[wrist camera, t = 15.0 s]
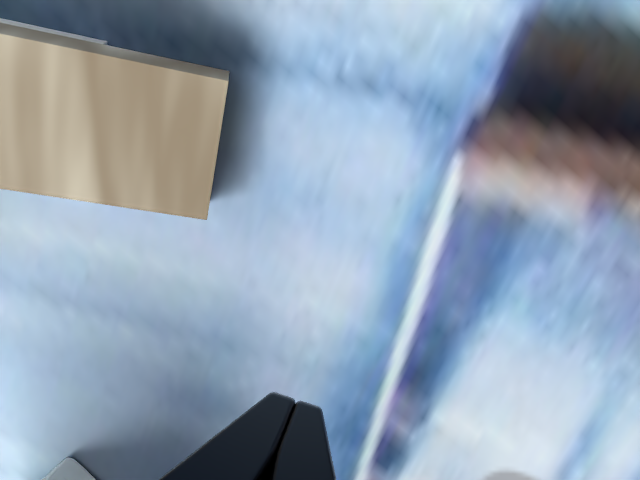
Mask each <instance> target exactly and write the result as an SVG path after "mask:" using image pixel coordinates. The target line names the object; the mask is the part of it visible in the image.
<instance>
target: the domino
mask: <svg viewBox="0 0 640 480" xmlns="http://www.w3.org/2000/svg"><path fill="white" fill-rule="evenodd" d="M228 82H229V71H227V70H222V69H217V68H212V67H208V66H203V65H198V64H194V63H189V62H184V61H179V60H175V59H170V58H165V57H161V56H156V55H151V54H146V53H142V52H137V51H132V50H128V49H123V48H118V47H113V46H109V45H104V44H99V43H95V42H90V41H85V40H80V39H76V38H71V37H66V36H62V35H57V34H52V33H47V32H43V31H38V30H33V29H28V28H24V27H19V26H14V25H10V24H5V23H0V189H7V190H13V191H20V192H26V193H33V194H39V195H46V196H53V197H59V198H66V199H72V200H79V201H86V202H92V203H99V204H105V205H112V206H119V207H125V208H132V209H138V210H145V211H152V212H158V213H165V214H171V215H178V216H184V217H191V218H198V219H204V220H207V216H208V209H209V203H210V196H211V190H212V184H213V177H214V171H215V165H216V158H217V152H218V145H219V139H220V133H221V126H222V120H223V114H224V107H225V101H226V94H227V88H228Z"/></svg>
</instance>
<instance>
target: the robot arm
mask: <svg viewBox="0 0 640 480" xmlns="http://www.w3.org/2000/svg"><path fill="white" fill-rule="evenodd" d="M159 480H336V477H335V472H334V467H333V462H332V457H331V452H330V447H329V442H328V437H327V432H326V427H325V422H324V417H323V412H322V409H321V408H320V407H318V406H315V405H312V404H309V403H306V402H303V401H298V402H297V403H296V404H295V400H294V399H293V398H291V397H288V396H285V395H282V394H278V393H275V392H273V393H270V394H268V395H267V396H266V397H264V398H263V399H262V400H261V401H259V402H258V403H257V404H255V405H254V406H253V407H252V408H250V409H249V410H248V411H246V412H245V413H244V414H243V415H241V416H240V417H239V418H237V419H236V420H235V421H234V422H232V423H231V424H230V425H228V426H227V427H226V428H225V429H223V430H222V431H221V432H219V433H218V434H217V435H216V436H214V437H213V438H212V439H210V440H209V441H208V442H207V443H205V444H204V445H203V446H201V447H200V448H199V449H198V450H196V451H195V452H194V453H192V454H191V455H190V456H188V457H187V458H186V459H185V460H183V461H182V462H181V463H179V464H178V465H177V466H176V467H174V468H173V469H172V470H170V471H169V472H168V473H167V474H165V475H164V476H163V477H161V478H160V479H159Z"/></svg>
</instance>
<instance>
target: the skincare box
mask: <svg viewBox="0 0 640 480" xmlns="http://www.w3.org/2000/svg"><path fill="white" fill-rule="evenodd" d="M42 480H96V479H95V478H94V477H93V476H92V475H91V474H90V473H88V471H87V470H86V469H85V468H84V467H83V466H81V465H80V464H79V463H78V462H77V461H76V460H74V459H72V458H69V457H67V458H65V459H64V460H63V461H62V462H61V463H60V464H59V465H57V466H56V467H55V468H54V469H53V470H52V471H51V472H50V473H49V474H48V475H47V476H45V477H44V478H43V479H42Z"/></svg>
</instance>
